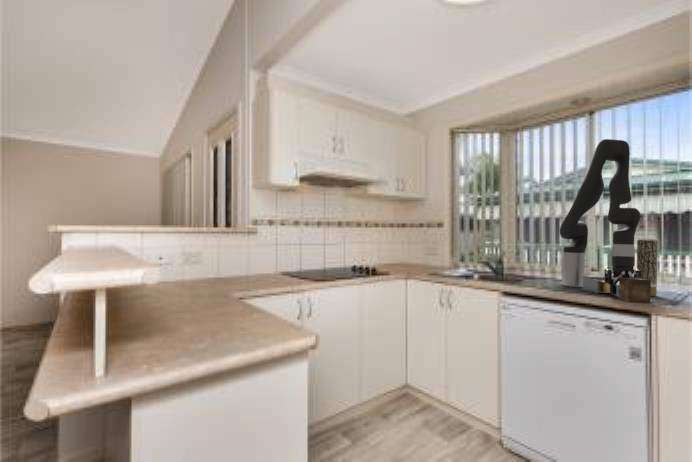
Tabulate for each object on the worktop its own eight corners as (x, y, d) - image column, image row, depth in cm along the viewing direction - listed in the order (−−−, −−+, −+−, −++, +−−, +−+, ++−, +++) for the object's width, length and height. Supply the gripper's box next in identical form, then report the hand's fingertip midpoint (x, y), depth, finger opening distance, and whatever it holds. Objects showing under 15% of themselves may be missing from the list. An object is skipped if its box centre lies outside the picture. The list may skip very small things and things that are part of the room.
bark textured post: (660, 297, 146) (661, 239, 146) (642, 296, 148) (643, 239, 148) (649, 294, 153) (650, 239, 153) (632, 293, 154) (633, 238, 154)
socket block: (619, 299, 139) (619, 277, 139) (639, 299, 139) (639, 278, 139) (629, 302, 134) (629, 279, 134) (650, 302, 134) (650, 279, 134)
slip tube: (597, 290, 154) (597, 280, 154) (606, 290, 154) (606, 280, 154) (632, 298, 135) (632, 287, 135) (642, 299, 135) (643, 287, 135)
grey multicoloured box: (582, 289, 161) (582, 275, 161) (598, 290, 161) (598, 275, 161) (597, 293, 151) (597, 278, 151) (614, 294, 151) (614, 278, 151)
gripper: (632, 254, 146) (632, 292, 146) (599, 254, 146) (598, 292, 146) (648, 256, 139) (647, 296, 139) (613, 255, 139) (612, 295, 139)
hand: (622, 294), depth 142 cm, fingers open, 7 cm apart
